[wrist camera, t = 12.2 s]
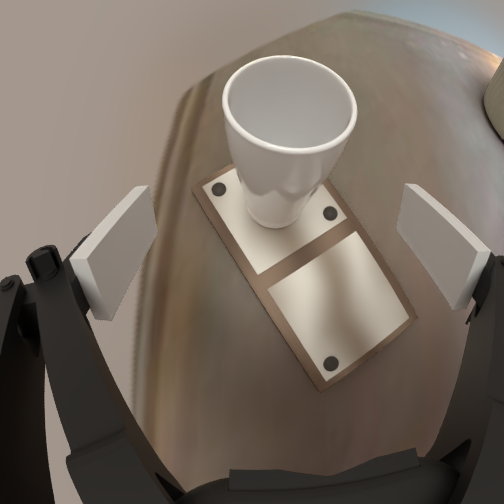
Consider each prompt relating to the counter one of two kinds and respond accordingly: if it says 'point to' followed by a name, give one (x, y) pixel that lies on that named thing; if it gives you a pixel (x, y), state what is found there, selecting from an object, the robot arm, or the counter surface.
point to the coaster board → (312, 277)
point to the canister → (496, 100)
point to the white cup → (285, 133)
